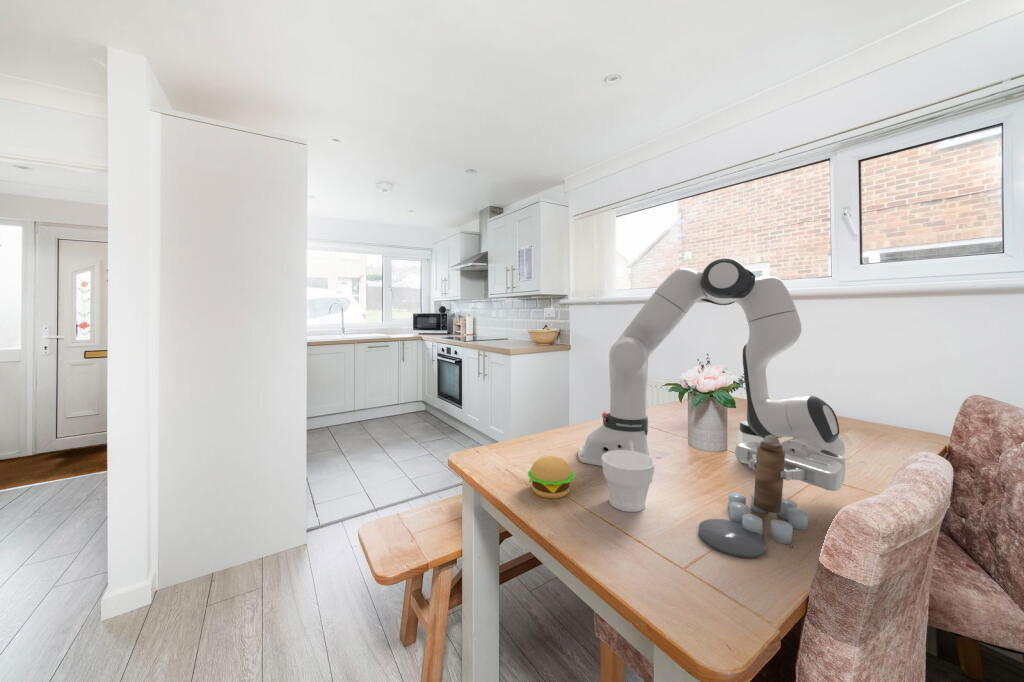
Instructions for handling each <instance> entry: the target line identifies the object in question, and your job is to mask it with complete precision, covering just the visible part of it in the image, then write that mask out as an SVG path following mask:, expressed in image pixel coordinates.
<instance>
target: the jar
mask: <svg viewBox="0 0 1024 682" xmlns="http://www.w3.org/2000/svg"><path fill="white" fill-rule="evenodd" d="M737 432H738V433H737V434H738V435H737V437H738V438H737V444H739V443H744V442H759V443H760V442H761V441H763V439H764V438H762V437H760V436H759V435H757V434H756V433H755V432H753V431H752V430H751V429H750V427H749V425H748V422H747V419H746V420H741V421H739V428H738V431H737ZM739 461H740V463H742V464H744V465H748V466H749V463H747V462H745V461H742V460H739Z"/></svg>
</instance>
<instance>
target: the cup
mask: <svg viewBox="0 0 1024 682" xmlns="http://www.w3.org/2000/svg"><path fill="white" fill-rule="evenodd" d="M601 458H602V466H601V467H602V473H603V476H604V477H605V480H606V481H607V482H606V483H607V486H608V491H609V492H608V493H609V497H608V502H609V504H610V505H611V506H612V507H614V508H615V509H617V510H619V511H622V512H627V513H638V512H641V511H643V510H644V509H645V508H646V500H647V495H648V492H649V487H650V485H651V484H652V482H653V478H654V477H653V476H654V472H655V471H654V470H655V467H656V461H655V460H654V459H653V457H651V456H650V457H649V456H647V455H645V454H642V453H639V452H635V451H628V450H614V451H609V452H606V453H604V454H603V455H602V457H601Z"/></svg>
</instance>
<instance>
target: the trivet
mask: <svg viewBox="0 0 1024 682" xmlns="http://www.w3.org/2000/svg"><path fill="white" fill-rule="evenodd" d="M697 527H698V536H699V538H700V539H701V541H703V543H705V544H706V545H707V546H708V547H710V548H712V549H713V550H715V551H717V552H720V553H721V554H724V555H727V556H731V557H735V558H739V559H758V558H762V557H763V556H764V555H765V554H767V551H768V550H767V549H768V546H767V545H768V544H767V541H766V539H765V538H764V536H763V535H762V536H761V535H760V534H759V533H756V532H751V531H748V530H746V529H745V528H743V527H742V523H737V522H735V521H733V520H731V519H730V520H728V519H723V518H709V519H705V520H703V521H701V522H700V523H699V524H698V526H697Z"/></svg>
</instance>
